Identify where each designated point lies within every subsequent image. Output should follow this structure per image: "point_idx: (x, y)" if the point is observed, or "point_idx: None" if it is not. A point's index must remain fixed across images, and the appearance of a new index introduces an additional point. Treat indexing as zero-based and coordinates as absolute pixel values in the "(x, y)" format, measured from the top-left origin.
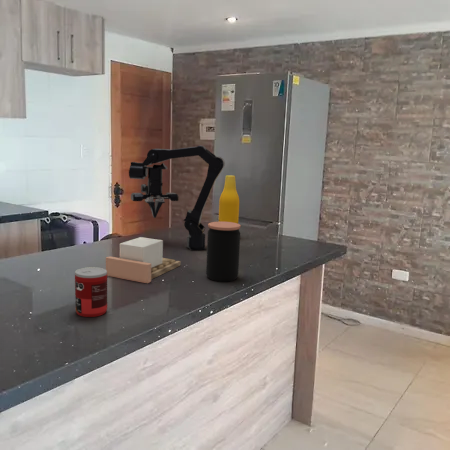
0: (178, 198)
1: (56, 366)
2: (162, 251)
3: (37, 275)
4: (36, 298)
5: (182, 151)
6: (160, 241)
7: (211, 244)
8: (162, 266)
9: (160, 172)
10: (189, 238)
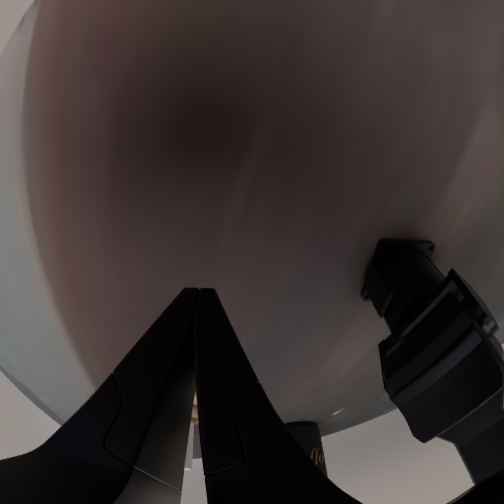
0: (494, 493)
1: None
2: (192, 446)
3: (4, 358)
4: (52, 409)
5: None
6: (185, 469)
7: None
8: (193, 422)
9: None
10: (381, 316)
